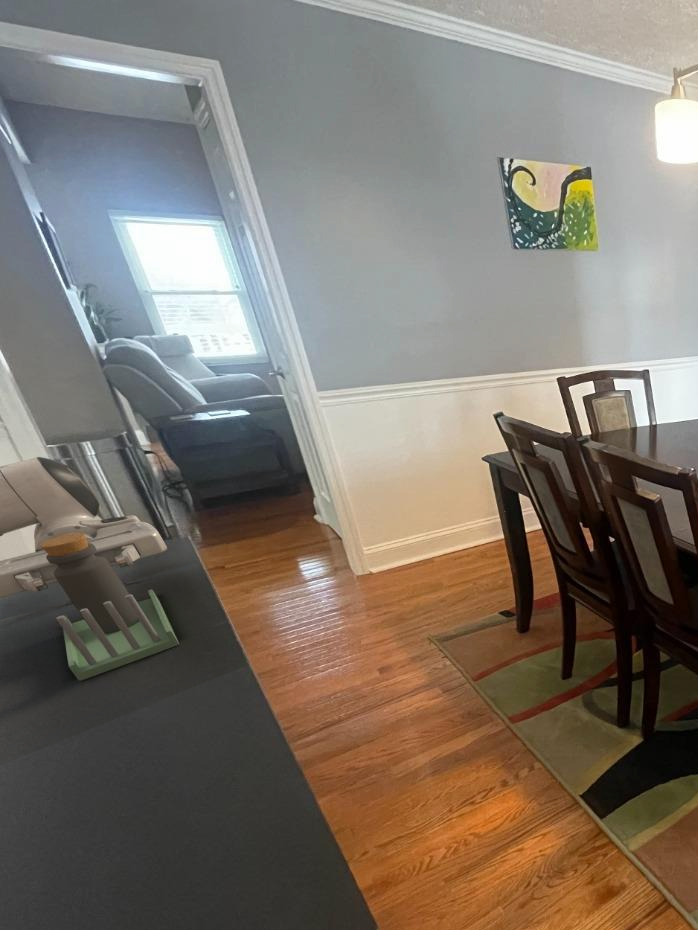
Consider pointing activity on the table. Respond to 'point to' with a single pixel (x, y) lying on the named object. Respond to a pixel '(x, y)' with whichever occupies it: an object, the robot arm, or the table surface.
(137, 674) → the table surface
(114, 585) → the bottle
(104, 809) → the table surface
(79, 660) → the drying rack
